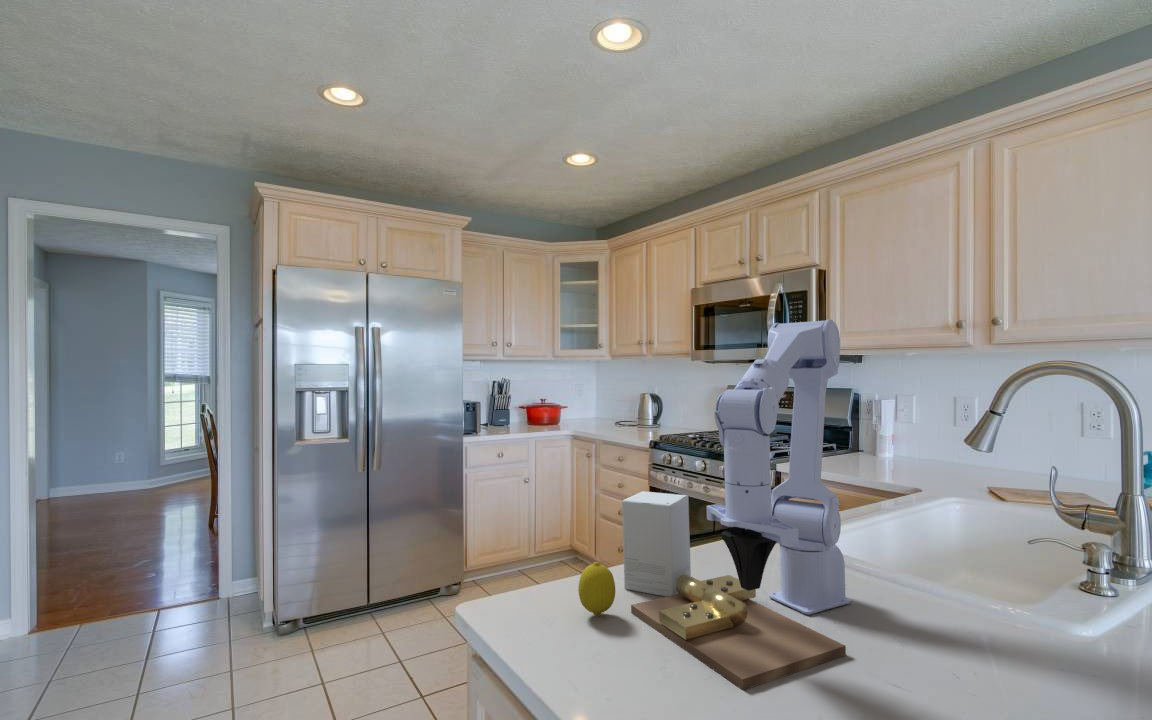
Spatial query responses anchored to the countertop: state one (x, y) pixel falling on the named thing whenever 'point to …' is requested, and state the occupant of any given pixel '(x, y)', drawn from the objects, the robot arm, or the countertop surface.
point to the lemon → (596, 588)
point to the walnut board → (749, 643)
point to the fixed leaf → (725, 584)
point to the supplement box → (655, 542)
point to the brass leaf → (704, 615)
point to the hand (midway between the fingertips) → (750, 587)
